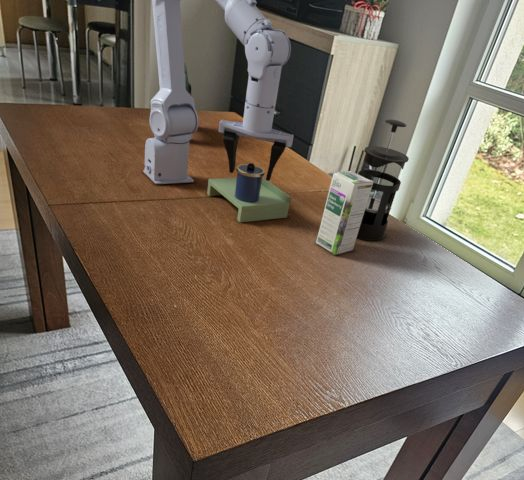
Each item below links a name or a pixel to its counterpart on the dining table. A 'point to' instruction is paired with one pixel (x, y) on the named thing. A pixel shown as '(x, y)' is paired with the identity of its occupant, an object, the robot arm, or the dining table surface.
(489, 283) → the dining table surface
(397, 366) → the dining table surface
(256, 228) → the dining table surface
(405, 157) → the french press
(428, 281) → the dining table surface
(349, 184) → the syrup box
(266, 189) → the shelf
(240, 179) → the pot
